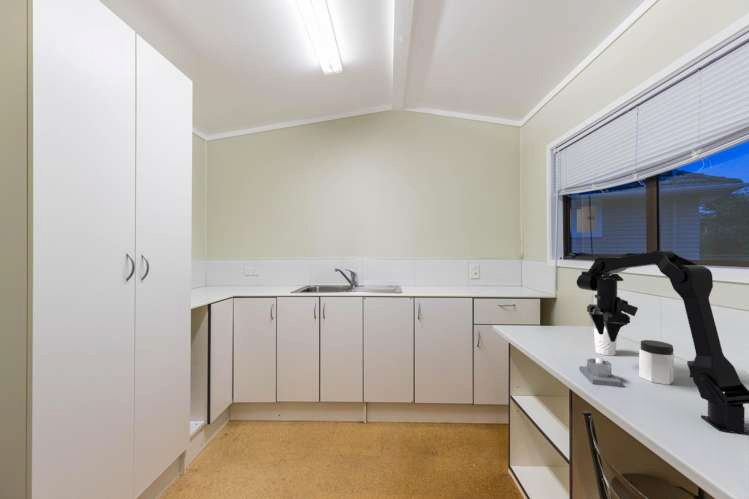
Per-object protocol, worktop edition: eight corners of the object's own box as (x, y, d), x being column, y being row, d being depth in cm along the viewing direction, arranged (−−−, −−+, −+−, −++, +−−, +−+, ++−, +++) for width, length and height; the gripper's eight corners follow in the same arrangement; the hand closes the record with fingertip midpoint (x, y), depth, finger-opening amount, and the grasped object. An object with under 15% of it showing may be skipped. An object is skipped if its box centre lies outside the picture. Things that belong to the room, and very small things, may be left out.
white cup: (615, 352, 135) (616, 328, 134) (618, 357, 128) (618, 332, 128) (593, 349, 139) (593, 326, 139) (594, 354, 132) (594, 329, 132)
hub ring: (613, 378, 104) (614, 366, 104) (592, 376, 106) (592, 364, 106) (605, 371, 110) (605, 359, 110) (585, 369, 112) (585, 357, 111)
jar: (668, 387, 101) (668, 349, 101) (636, 378, 108) (636, 342, 108) (677, 380, 106) (677, 344, 106) (645, 372, 113) (646, 338, 113)
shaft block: (621, 387, 101) (621, 366, 101) (592, 384, 103) (592, 364, 103) (605, 372, 112) (605, 354, 112) (579, 370, 115) (579, 352, 114)
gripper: (649, 298, 100) (649, 347, 100) (621, 290, 118) (620, 332, 118) (608, 296, 103) (608, 345, 103) (586, 289, 121) (586, 330, 121)
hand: (606, 337), depth 111 cm, fingers open, 9 cm apart
